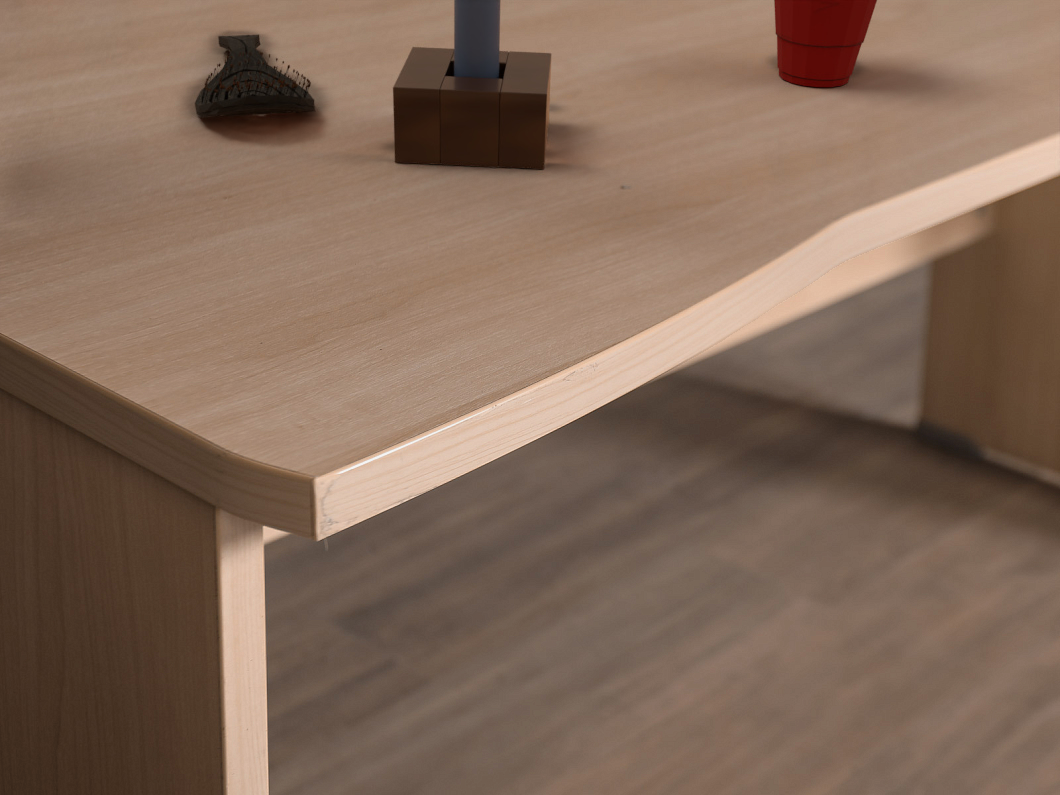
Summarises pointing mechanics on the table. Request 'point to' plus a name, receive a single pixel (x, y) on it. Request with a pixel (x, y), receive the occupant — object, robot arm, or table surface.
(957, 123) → the table surface
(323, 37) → the table surface
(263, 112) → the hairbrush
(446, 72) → the holder
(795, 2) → the plastic cup
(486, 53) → the handle
